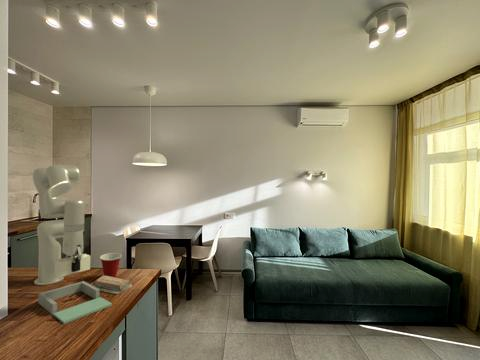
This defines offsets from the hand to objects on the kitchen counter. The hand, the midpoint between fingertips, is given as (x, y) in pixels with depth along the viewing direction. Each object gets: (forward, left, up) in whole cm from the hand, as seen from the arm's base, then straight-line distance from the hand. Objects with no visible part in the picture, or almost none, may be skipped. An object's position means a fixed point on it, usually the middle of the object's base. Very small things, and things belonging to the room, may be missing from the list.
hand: (72, 269), depth 111 cm
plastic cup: (-16, +25, -15) cm, 33 cm away
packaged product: (-2, +18, -15) cm, 24 cm away
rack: (-3, 0, -14) cm, 15 cm away
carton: (0, 0, -1) cm, 1 cm away
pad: (+11, 0, -14) cm, 18 cm away
